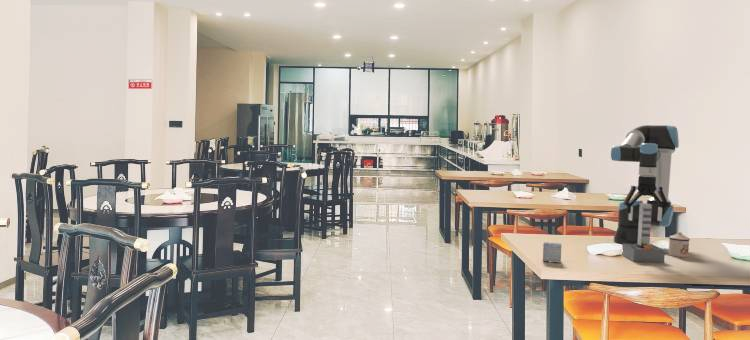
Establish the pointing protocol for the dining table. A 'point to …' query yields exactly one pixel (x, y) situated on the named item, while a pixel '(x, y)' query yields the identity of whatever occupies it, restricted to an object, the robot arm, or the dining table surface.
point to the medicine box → (552, 252)
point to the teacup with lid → (678, 245)
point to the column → (644, 224)
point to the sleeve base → (643, 253)
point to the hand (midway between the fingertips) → (644, 220)
